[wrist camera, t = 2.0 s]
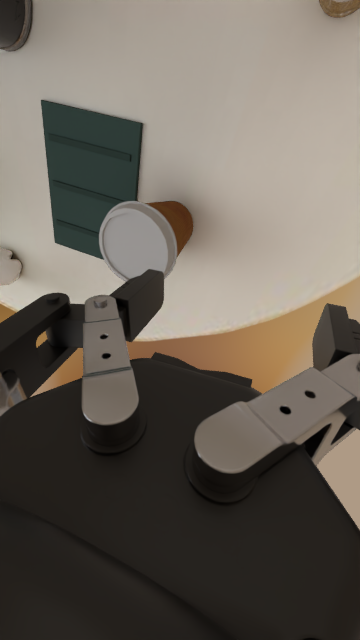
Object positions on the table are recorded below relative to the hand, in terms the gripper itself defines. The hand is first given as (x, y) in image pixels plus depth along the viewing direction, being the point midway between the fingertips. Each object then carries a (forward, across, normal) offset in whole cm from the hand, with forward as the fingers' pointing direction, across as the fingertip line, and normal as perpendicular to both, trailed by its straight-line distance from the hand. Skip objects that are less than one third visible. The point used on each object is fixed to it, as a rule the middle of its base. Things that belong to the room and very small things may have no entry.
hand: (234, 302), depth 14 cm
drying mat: (+26, +27, +1) cm, 37 cm away
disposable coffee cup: (+26, +14, +4) cm, 29 cm away
